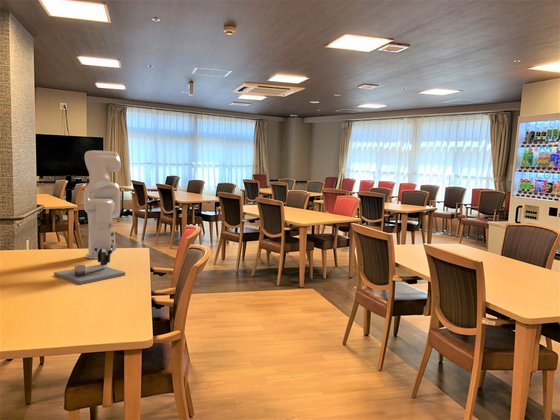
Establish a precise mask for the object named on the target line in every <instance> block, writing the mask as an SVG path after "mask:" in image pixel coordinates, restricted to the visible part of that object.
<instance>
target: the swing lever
mask: <svg viewBox="0 0 560 420" xmlns="http://www.w3.org/2000/svg"><path fill="white" fill-rule="evenodd" d="M105 255H106V253H105V252H101V253H100V262H99V263H100V264H96V265H97V266H93V265H92V266H93V267H90V268H86V269H85V267H86V265H84V264H77V265H74V269H75V274H74V275H76V276H81V275H85V274H86V273H89V272H93V271H96V270H99V269H103V268H106V267H108V263H105Z"/></svg>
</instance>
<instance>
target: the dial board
mask: <svg viewBox="0 0 560 420" xmlns="http://www.w3.org/2000/svg"><path fill="white" fill-rule="evenodd" d="M97 265H98V264H95V265H89V266H85V269H86V268H90V267H93V266H97ZM74 274H75V268H72V269H66V270H65V269H64V270H61V271H54V272H53V275H54V277H58V278H61V279H63V280H66V281H69V282H72V283H74V284H77V285H85V284H91V283H95V282H101V281H104V280H108V279H115V278H119V277H123V276H124V277H125V276H126V271H122V270H119V269H116V268H112V267H108V266H107V267H106V268H103V269H99V270H96V271H93V272H89V273H86V274H85V275H81V276H76V275H74Z"/></svg>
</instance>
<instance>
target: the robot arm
mask: <svg viewBox="0 0 560 420" xmlns="http://www.w3.org/2000/svg"><path fill="white" fill-rule="evenodd" d="M84 162H85V166H86V169H87V171H88V174H89V175H88V176H89V184H88V185H87V187H86V188H85V190H84V193H83V208H84V211H85V212H86V214H87V220H88V221H87V222H88V223H87V224H88V226H87V227H88V245H87V246H88V253H86V254H85V258H86V259H90V260H91V259H92V260H97V263H100V253H101V252H105V253H106V255H105V263H107V264H109V263H110V262H111V255H112V253H113V252H115V251H117V248H116V244H117V243H116V233H115V232H116V231H115V229H114V228H113V227H114V225H115V224H113V219H117V218H119V217H120V215H121V190H120V189H121V188H120V185H119V184H118V183H117V182H111V176H110V172H114V173H117V172H120V170H121V169H122V161H121V158H120V155H119V153H118V152H116V151H110V150H109V151H108V150H94V149H93V150H87V151H86V152H85V153H84Z"/></svg>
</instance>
